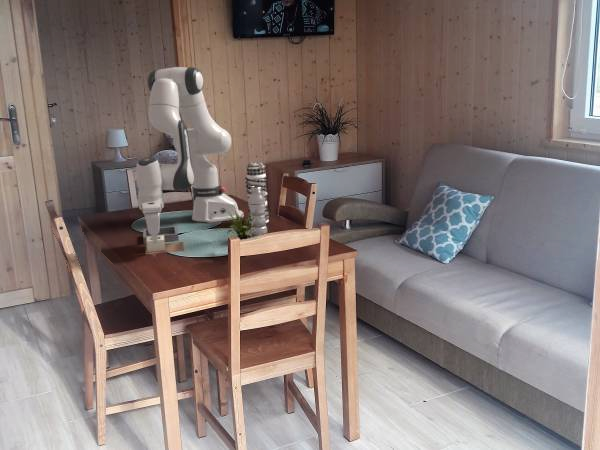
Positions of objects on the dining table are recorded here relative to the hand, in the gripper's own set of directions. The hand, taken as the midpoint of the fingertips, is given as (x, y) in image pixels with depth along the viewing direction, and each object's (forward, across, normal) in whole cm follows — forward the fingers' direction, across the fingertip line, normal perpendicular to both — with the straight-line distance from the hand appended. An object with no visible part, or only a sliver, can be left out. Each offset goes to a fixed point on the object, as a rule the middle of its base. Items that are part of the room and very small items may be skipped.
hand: (155, 240), depth 245 cm
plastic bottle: (+4, -4, +39) cm, 40 cm away
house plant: (+5, +14, +29) cm, 33 cm away
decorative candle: (+4, -29, +43) cm, 52 cm away
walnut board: (+4, 0, +3) cm, 5 cm away
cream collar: (+3, 0, 0) cm, 3 cm away
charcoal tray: (+4, -15, +2) cm, 16 cm away
